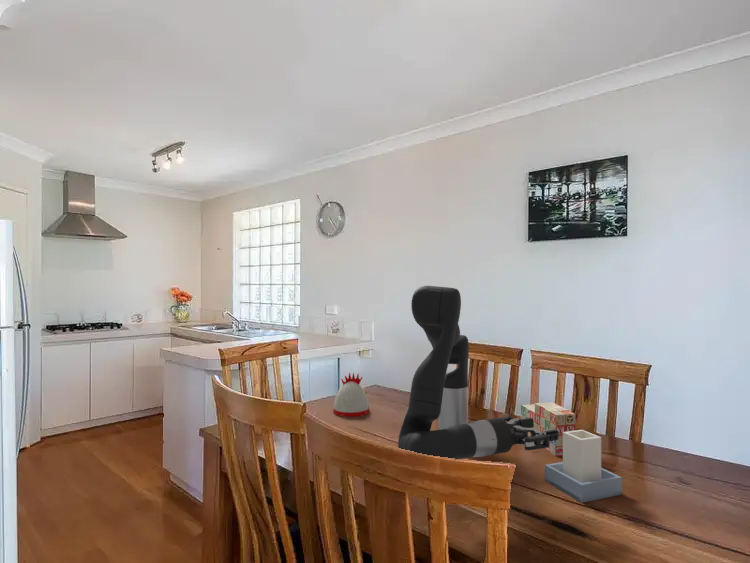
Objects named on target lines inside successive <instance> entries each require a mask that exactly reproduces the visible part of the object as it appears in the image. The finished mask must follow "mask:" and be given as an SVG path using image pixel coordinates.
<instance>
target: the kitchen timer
mask: <svg viewBox="0 0 750 563" xmlns="http://www.w3.org/2000/svg"><path fill="white" fill-rule="evenodd" d="M359 375H360V374H359V373H357V374H356V378H355V373H354V372H352V376H351V373H350V372H349V373H348V377H347V375H345V376H344V378H345V379H343V378H340V380H341V383H342V384H343V385H341V386H340V388H339V390H338V391H337V392H336V393H337V394H336V396H335V398H334V402H333V410H332V411H333V414H334V413H335V414H334V415H336V414H337V415H336V416H339V415H340V416H339V417H344V416H347V417H348V418H353V417H354V418H356V416H357V417H361V416H362V415H363V416H366V415H369V413H370V403H369V399H368V396H367V395H368V393H367V392H366V391H365V389H364V387H363V386H362V385H361V384H360V383H361V382H362V379H363V376H361V377H360V376H359ZM344 380H345V381H344ZM365 414H366V415H365ZM363 416H362V417H363Z"/></svg>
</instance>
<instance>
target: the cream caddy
mask: <svg viewBox="0 0 750 563" xmlns="http://www.w3.org/2000/svg"><path fill="white" fill-rule="evenodd" d="M562 462H563V473H564V474H566V475H568V476H570V477H571V478H573V479H575V480H577V481H579V482H581V483H585V482H590V481H595V480H600V479H601V468H602V436H599V435H597V434H594V433H591V432H589V431H587V430H584V429H578V430H576V429H575V431H568V432H563V456H562Z"/></svg>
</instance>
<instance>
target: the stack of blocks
mask: <svg viewBox="0 0 750 563" xmlns="http://www.w3.org/2000/svg"><path fill="white" fill-rule="evenodd" d="M520 414H521V418H520V419H526V418H532V419H533V427H532V428H533V429H534V430H535V431H549V430H557V431H559V439H558V440H555V441H549V448H544V449H545V450H546V451H547V452H549V453H550V454H551V455H553V456H554V457H563V432H568V431H575V430H576V413H574V412H572V411H570V410H569V409H568V408H565V407H564V406H560V405H558V404H557V403H555V402H550V401H549V402H535V403H532V404H521V405H520ZM528 436H531V433H530V432H528ZM535 436H538V435H535Z"/></svg>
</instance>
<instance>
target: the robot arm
mask: <svg viewBox="0 0 750 563" xmlns="http://www.w3.org/2000/svg"><path fill="white" fill-rule="evenodd" d="M411 298H412V299H411V313H412V316H413V318H414V321H415V323H416V324H417V325H419V327H420V328H422V330H423V332H424V333H425V335H426V338H427V340H428V341H429V343H430V344H431V347H432V350H431V351H430V352H429V354H428V355H427V356H426V357H425V358H424V360H423V361H422V362H421V363H420V365H419V366H418V367H417V369H416V370H415V373H414V374H413V377H412V380H411V387H410V393H409V401H408V408H407V411H406V414H405V416H404V419H403V422H402V425H401V427H400V428H401V429H400V431H399V434H398V439H397V440H398V442H397V446H398V448H401V449H405V450H410V451H414V452H417V453H422V454H427V455H433V456H440V457H448V458H455V459H454V460H461V459H469V458H481V457H488V456H492V455H500V454H505V453H508V452H510V451H511V449H512V448H513V446H514V445H515V446H517V445H518V446H521V445H524V450H526V451H533V450H540V449H541V450H542V449H545V448H549V441H555V440H558V439H559V431H557V430H549V431H535V430H534V429H533V428H532V427H533V419H532V418H526V419H521V418H517V417H516V418H513V416H503V417H494V418H488V419H481V420H474V421H470V422H469V377H468V376H469V354H470V353H469V352H470V342H469V339H468V337H467V335H464V334H461V329H460V326H459V322H460V316H461V308H462V298H461V293H460V291H459V289H458V288H456V287H449V286H447V287H445V286H438V285H437V286H436V285H421V286H418V287H417V288H416V290H415V291H414V292H413V295H412V297H411ZM449 365H457V368H455V369H453V370H451V371H448V367H449ZM447 371H448V372H447ZM436 420H438V421H437V422H438V423H437V428H438V429H435V430H432V425H433V423H434V421H436ZM528 432H530V433H531V436H528ZM535 435H538V436H535Z"/></svg>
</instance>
